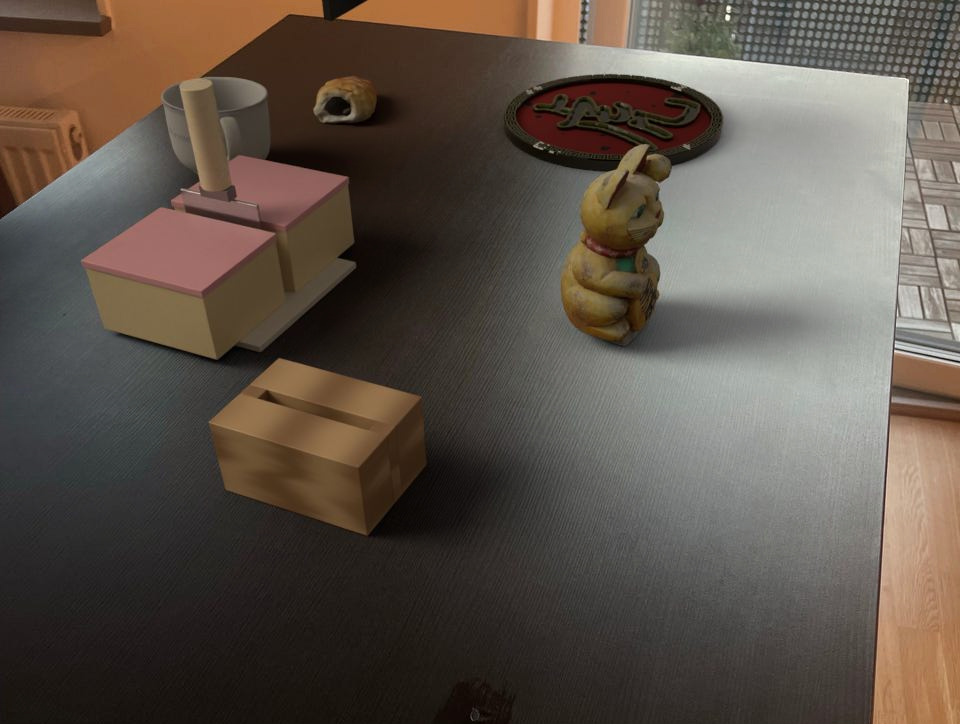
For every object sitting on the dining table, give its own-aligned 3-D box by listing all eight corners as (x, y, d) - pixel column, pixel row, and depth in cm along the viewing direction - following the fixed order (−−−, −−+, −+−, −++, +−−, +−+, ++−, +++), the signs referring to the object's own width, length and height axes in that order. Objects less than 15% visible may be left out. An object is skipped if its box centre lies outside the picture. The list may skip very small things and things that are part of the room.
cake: (87, 330, 90) (62, 255, 85) (236, 221, 104) (222, 151, 99) (238, 372, 85) (221, 296, 80) (373, 252, 99) (366, 180, 94)
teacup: (179, 153, 115) (161, 76, 109) (276, 144, 117) (264, 67, 111) (177, 208, 106) (158, 127, 100) (283, 198, 107) (270, 117, 101)
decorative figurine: (631, 364, 85) (650, 183, 74) (539, 343, 88) (544, 164, 77) (667, 308, 91) (690, 132, 80) (580, 290, 94) (590, 116, 82)
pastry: (336, 93, 126) (333, 59, 124) (389, 97, 125) (387, 63, 123) (312, 124, 120) (307, 88, 118) (367, 128, 119) (364, 93, 116)
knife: (192, 280, 95) (145, 82, 82) (209, 268, 96) (165, 71, 84) (265, 299, 92) (227, 97, 80) (281, 285, 94) (247, 86, 81)
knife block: (225, 490, 75) (207, 422, 71) (291, 424, 80) (278, 357, 76) (367, 536, 71) (358, 467, 67) (427, 464, 77) (422, 396, 72)
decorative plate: (682, 176, 106) (466, 136, 114) (681, 187, 107) (466, 147, 115) (750, 92, 121) (555, 62, 129) (748, 102, 122) (555, 72, 130)
